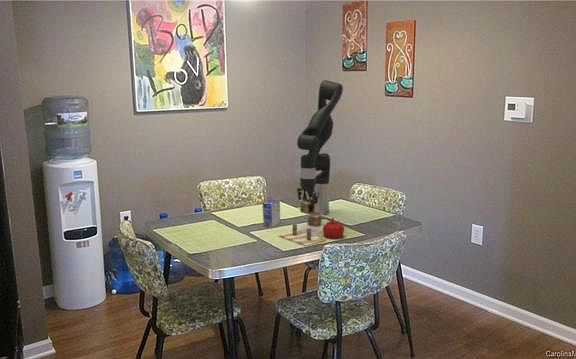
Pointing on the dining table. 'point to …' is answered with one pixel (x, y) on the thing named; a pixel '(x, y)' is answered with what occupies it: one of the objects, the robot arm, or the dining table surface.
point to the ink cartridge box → (271, 212)
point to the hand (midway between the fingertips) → (307, 210)
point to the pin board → (302, 237)
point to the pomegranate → (333, 229)
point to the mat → (313, 229)
